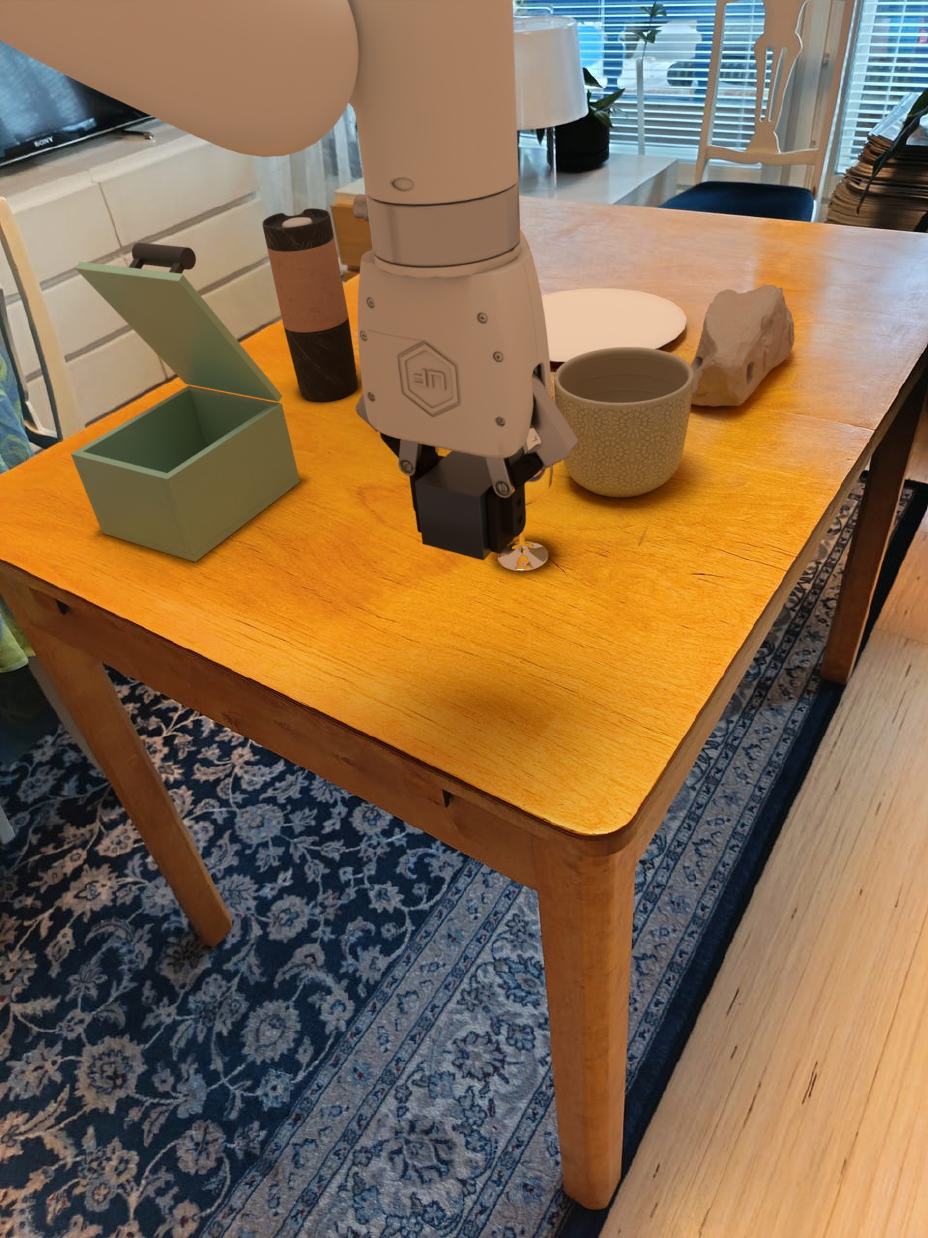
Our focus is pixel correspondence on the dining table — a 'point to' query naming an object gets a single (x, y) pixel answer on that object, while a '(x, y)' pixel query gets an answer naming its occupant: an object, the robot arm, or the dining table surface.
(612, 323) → the plate
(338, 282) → the travel mug
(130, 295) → the cool box lid
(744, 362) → the decorative stone
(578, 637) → the dining table surface
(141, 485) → the cool box
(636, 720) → the dining table surface
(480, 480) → the block
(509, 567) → the wineglass
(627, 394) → the planter
